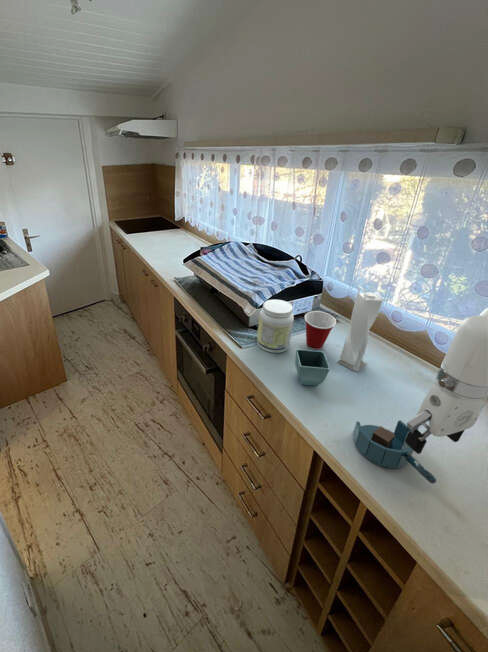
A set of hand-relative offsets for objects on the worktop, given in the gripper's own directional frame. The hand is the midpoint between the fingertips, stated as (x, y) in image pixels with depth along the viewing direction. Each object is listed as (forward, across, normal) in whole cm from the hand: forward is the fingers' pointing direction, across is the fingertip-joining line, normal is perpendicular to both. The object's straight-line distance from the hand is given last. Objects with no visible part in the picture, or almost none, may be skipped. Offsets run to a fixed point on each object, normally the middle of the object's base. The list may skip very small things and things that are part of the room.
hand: (430, 441), depth 64 cm
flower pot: (+13, -4, +35) cm, 37 cm away
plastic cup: (+13, +10, +51) cm, 54 cm away
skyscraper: (+13, +16, +39) cm, 44 cm away
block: (+12, 0, +9) cm, 14 cm away
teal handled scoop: (+12, -1, +5) cm, 13 cm away
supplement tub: (+12, -5, +56) cm, 58 cm away
